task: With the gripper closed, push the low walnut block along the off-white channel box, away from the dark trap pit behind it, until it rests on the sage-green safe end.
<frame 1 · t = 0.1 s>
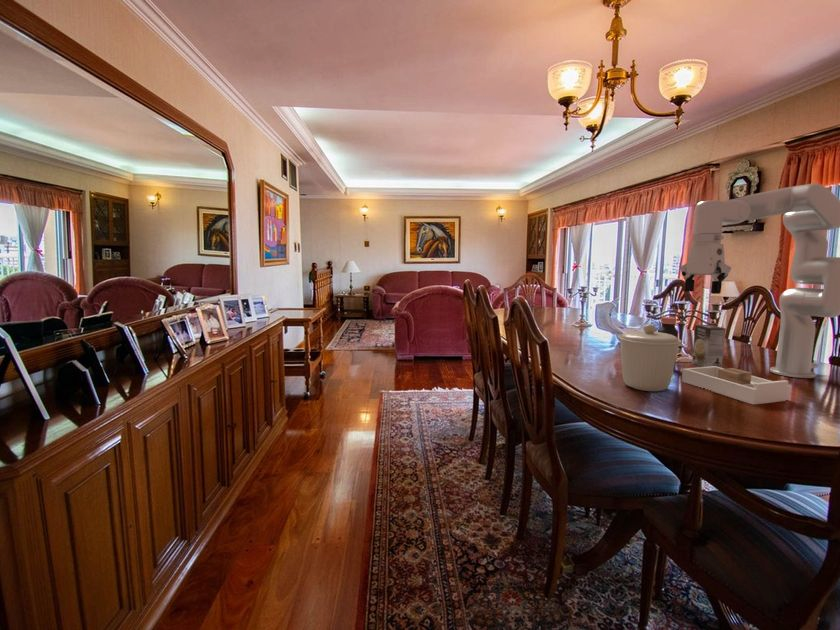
hand: (701, 292, 136), 31 cm above the table, tool pointing down, fingers open, 9 cm apart
canister: (645, 387, 137), on the table
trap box: (731, 390, 133), on the table
bottle: (664, 369, 159), on the table
coffee box: (706, 366, 163), on the table
walnut block: (733, 381, 132), point 3 cm above the table, touching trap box
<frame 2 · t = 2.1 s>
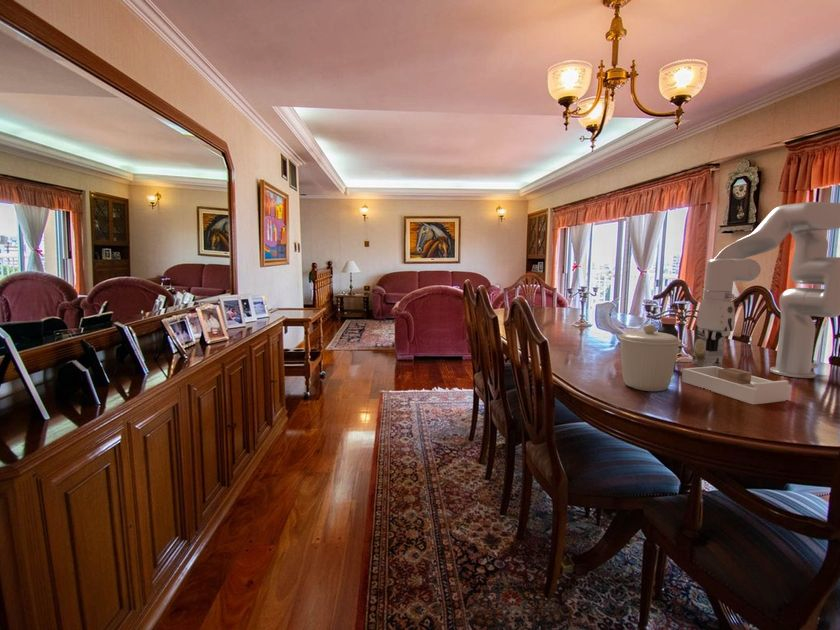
hand: (711, 350, 138), 11 cm above the table, tool pointing down, fingers closed
nothing on the table moved.
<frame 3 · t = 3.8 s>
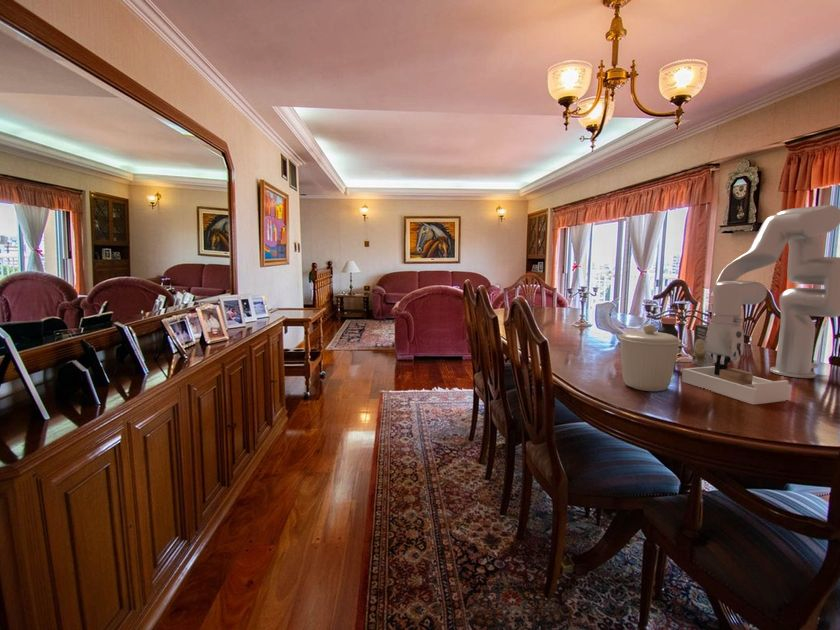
hand: (720, 374, 136), 4 cm above the table, tool pointing down, fingers closed
walnut block: (735, 382, 132), point 3 cm above the table, touching gripper, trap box
everything else where it was.
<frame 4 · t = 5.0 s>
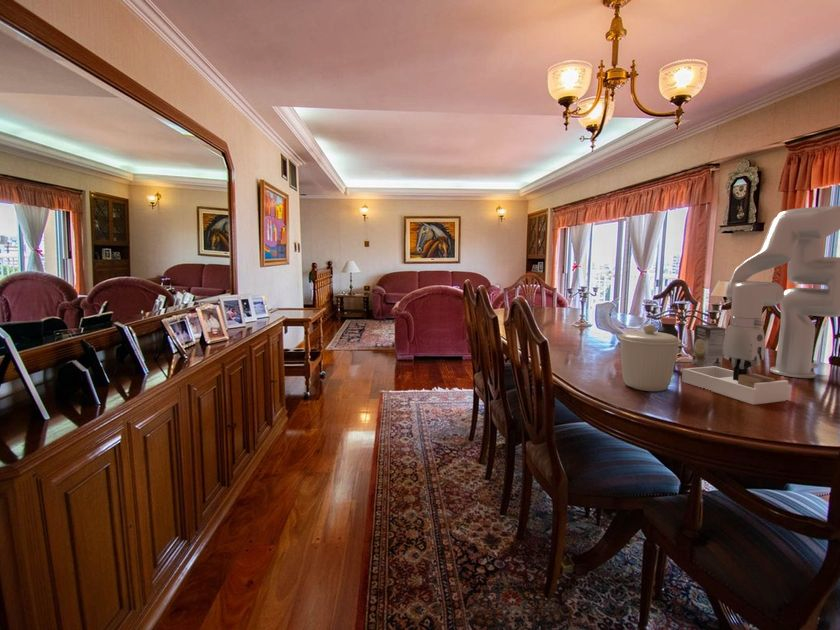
hand: (739, 380, 130), 4 cm above the table, tool pointing down, fingers closed
walnut block: (755, 387, 125), point 3 cm above the table, touching gripper, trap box
everything else where it was.
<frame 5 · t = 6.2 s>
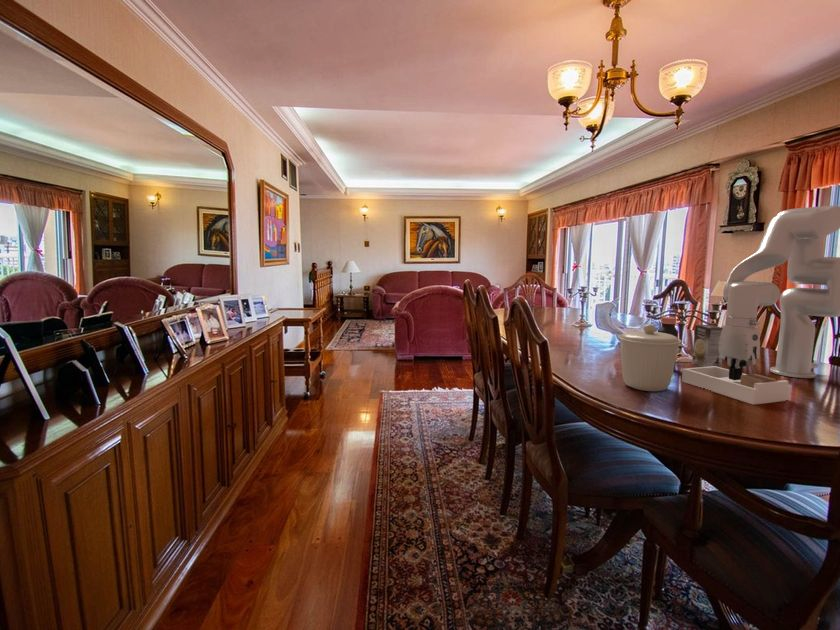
hand: (734, 379, 132), 4 cm above the table, tool pointing down, fingers closed
walnut block: (757, 388, 125), point 3 cm above the table, touching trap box
everything else where it was.
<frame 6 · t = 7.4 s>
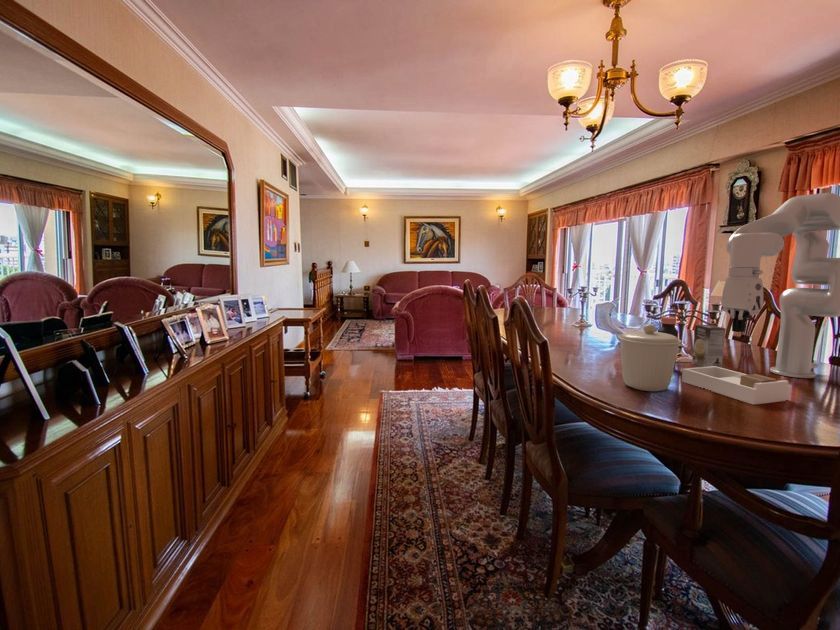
hand: (738, 331, 131), 19 cm above the table, tool pointing down, fingers closed
nothing on the table moved.
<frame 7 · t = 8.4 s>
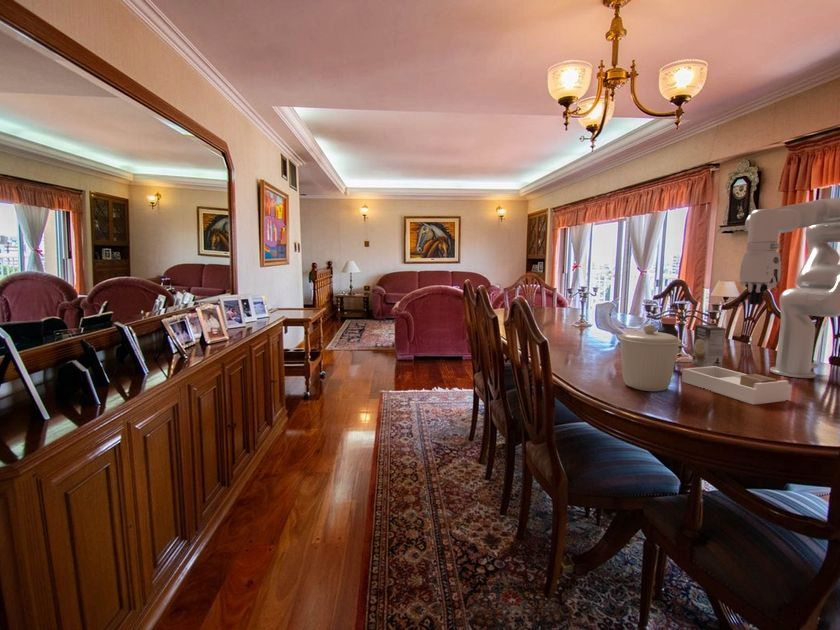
hand: (755, 304, 136), 27 cm above the table, tool pointing down, fingers closed
nothing on the table moved.
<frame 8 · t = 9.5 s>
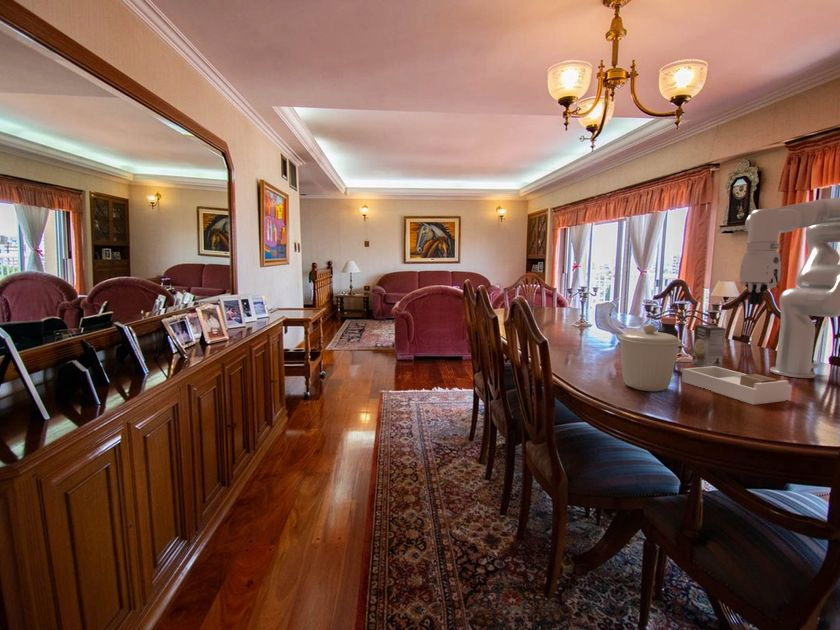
hand: (755, 304, 136), 27 cm above the table, tool pointing down, fingers closed
nothing on the table moved.
at the end: walnut block 0.6 cm from the target spot on the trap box, point 3.0 cm above the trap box's base; walnut block tilted 0° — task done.
